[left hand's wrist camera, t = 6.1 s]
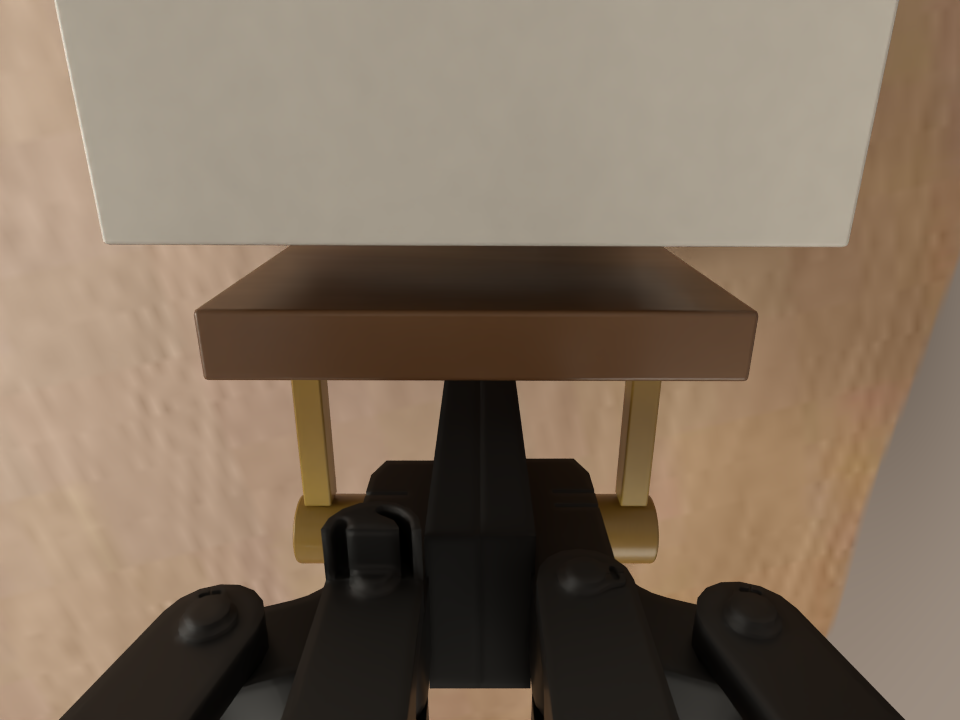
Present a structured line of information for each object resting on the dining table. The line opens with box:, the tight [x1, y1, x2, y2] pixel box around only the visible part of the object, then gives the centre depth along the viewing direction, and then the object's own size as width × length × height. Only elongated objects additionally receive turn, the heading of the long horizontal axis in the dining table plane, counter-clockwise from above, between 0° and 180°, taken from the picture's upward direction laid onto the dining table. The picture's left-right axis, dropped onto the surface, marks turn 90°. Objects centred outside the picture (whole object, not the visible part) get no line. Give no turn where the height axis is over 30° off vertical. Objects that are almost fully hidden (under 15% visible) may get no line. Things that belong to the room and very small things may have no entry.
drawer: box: [194, 245, 758, 563], centre depth 12 cm, size 22×9×7 cm, turn 0°
